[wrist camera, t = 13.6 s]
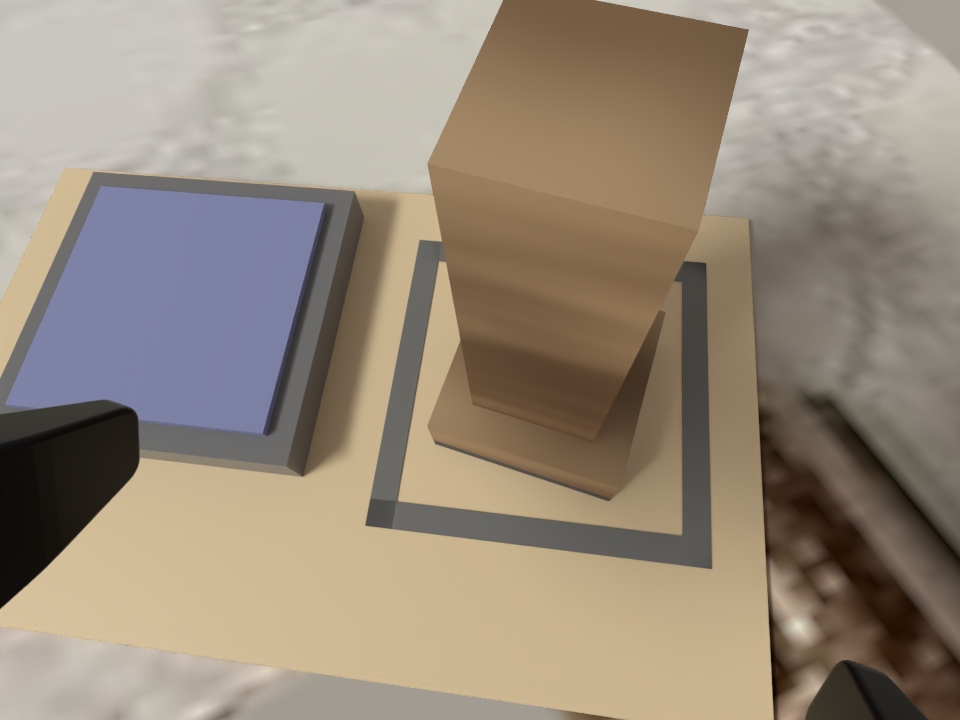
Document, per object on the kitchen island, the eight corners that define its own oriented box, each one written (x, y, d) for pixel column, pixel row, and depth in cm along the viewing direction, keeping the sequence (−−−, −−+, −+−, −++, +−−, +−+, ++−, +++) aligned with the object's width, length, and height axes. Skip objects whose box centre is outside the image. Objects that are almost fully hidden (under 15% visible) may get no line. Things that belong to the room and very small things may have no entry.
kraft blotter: (771, 740, 16) (775, 741, 15) (-136, 604, 18) (-145, 604, 18) (746, 221, 21) (749, 217, 21) (68, 171, 24) (63, 167, 24)
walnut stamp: (608, 501, 18) (770, 325, 7) (435, 444, 19) (326, 206, 8) (650, 339, 20) (831, -5, 9) (491, 295, 21) (470, -70, 10)
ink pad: (303, 477, 19) (282, 464, 17) (15, 443, 19) (-32, 427, 18) (364, 217, 22) (352, 185, 20) (118, 197, 23) (88, 165, 21)
